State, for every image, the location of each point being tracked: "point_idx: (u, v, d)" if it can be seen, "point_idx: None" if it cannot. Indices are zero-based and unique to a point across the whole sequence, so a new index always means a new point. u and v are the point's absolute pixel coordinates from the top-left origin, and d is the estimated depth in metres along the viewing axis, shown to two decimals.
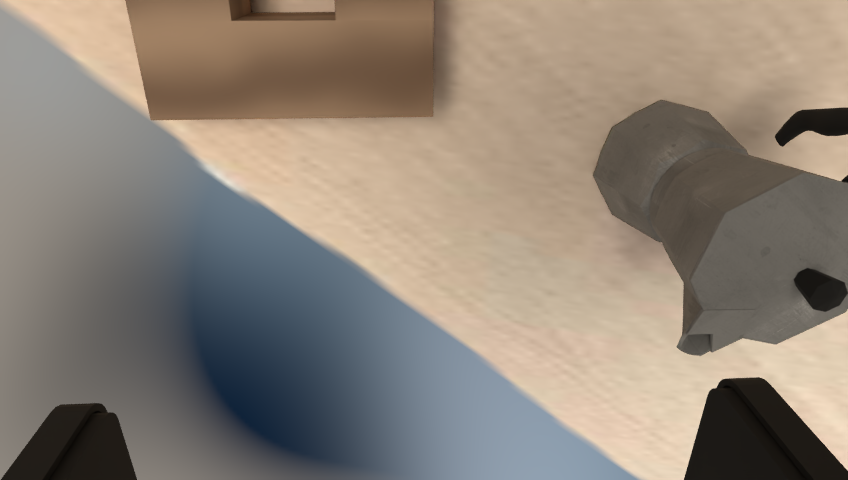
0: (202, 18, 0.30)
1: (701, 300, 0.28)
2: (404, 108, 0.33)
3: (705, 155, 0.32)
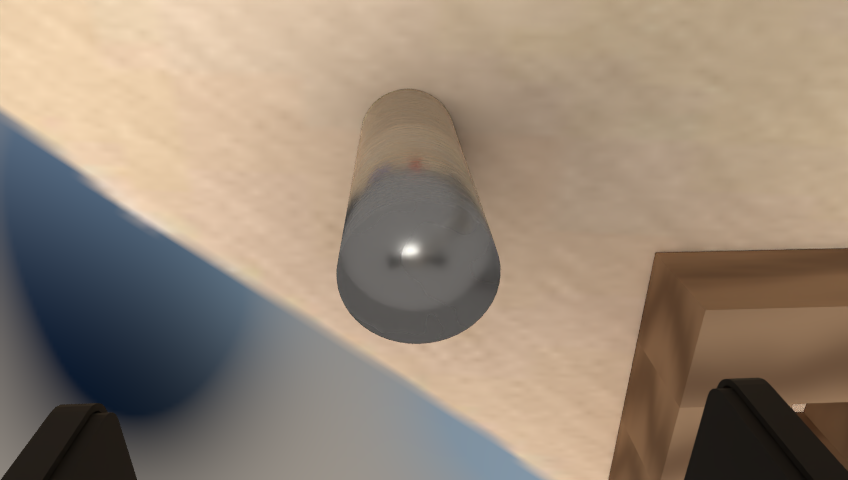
0: None
1: None
2: None
3: None
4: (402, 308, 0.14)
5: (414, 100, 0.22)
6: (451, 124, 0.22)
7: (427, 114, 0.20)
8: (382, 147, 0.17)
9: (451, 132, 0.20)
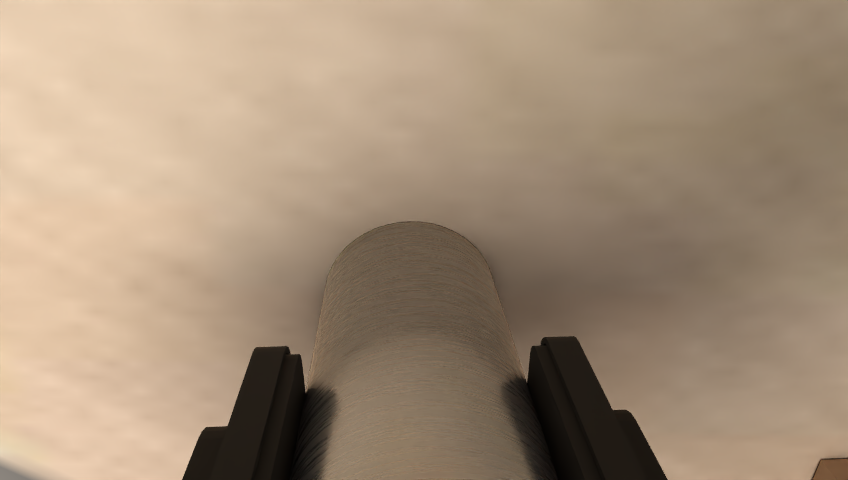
0: None
1: None
2: None
3: None
4: None
5: (425, 265, 0.11)
6: (499, 310, 0.11)
7: (456, 321, 0.09)
8: None
9: (509, 363, 0.09)
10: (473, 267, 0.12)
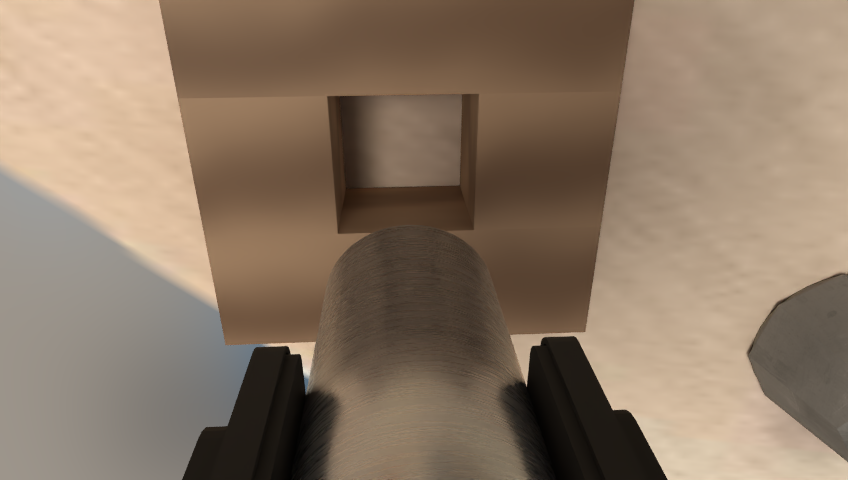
0: (300, 232, 0.23)
1: None
2: (550, 324, 0.26)
3: None
4: None
5: (424, 269, 0.11)
6: (498, 313, 0.11)
7: (455, 325, 0.09)
8: None
9: (509, 367, 0.09)
10: (473, 270, 0.12)
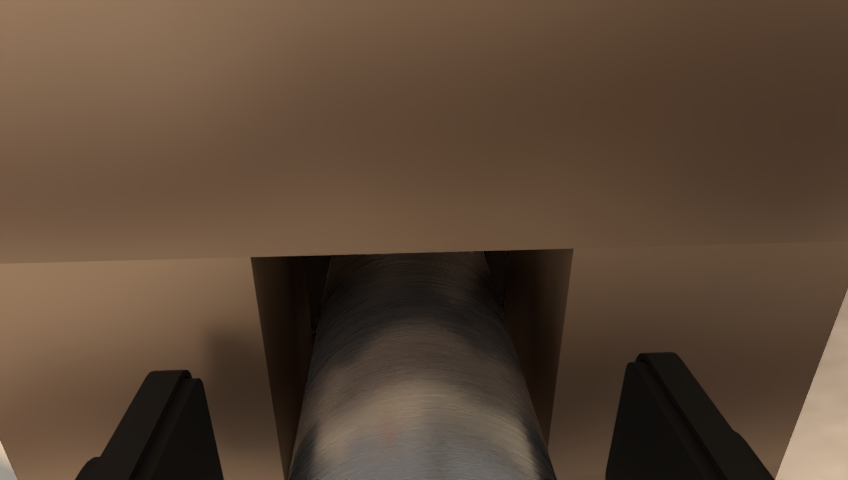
0: None
1: None
2: None
3: None
4: None
5: None
6: (482, 260, 0.13)
7: (444, 261, 0.11)
8: (356, 385, 0.08)
9: (488, 295, 0.11)
10: None
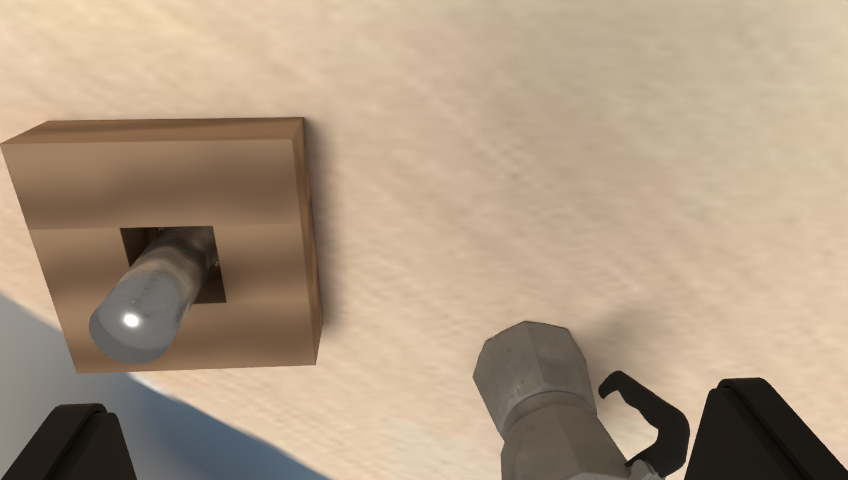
0: None
1: None
2: (290, 360, 0.39)
3: (541, 402, 0.39)
4: (125, 347, 0.30)
5: None
6: (211, 231, 0.38)
7: (186, 230, 0.36)
8: (140, 258, 0.33)
9: (199, 241, 0.36)
10: None
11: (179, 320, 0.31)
